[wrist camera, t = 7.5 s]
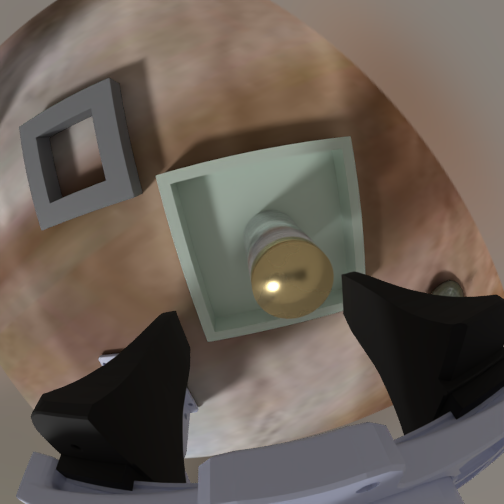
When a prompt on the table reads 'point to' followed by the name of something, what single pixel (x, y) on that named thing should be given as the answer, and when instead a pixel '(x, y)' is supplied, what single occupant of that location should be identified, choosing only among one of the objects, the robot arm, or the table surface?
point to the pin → (285, 266)
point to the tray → (248, 205)
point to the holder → (110, 147)
